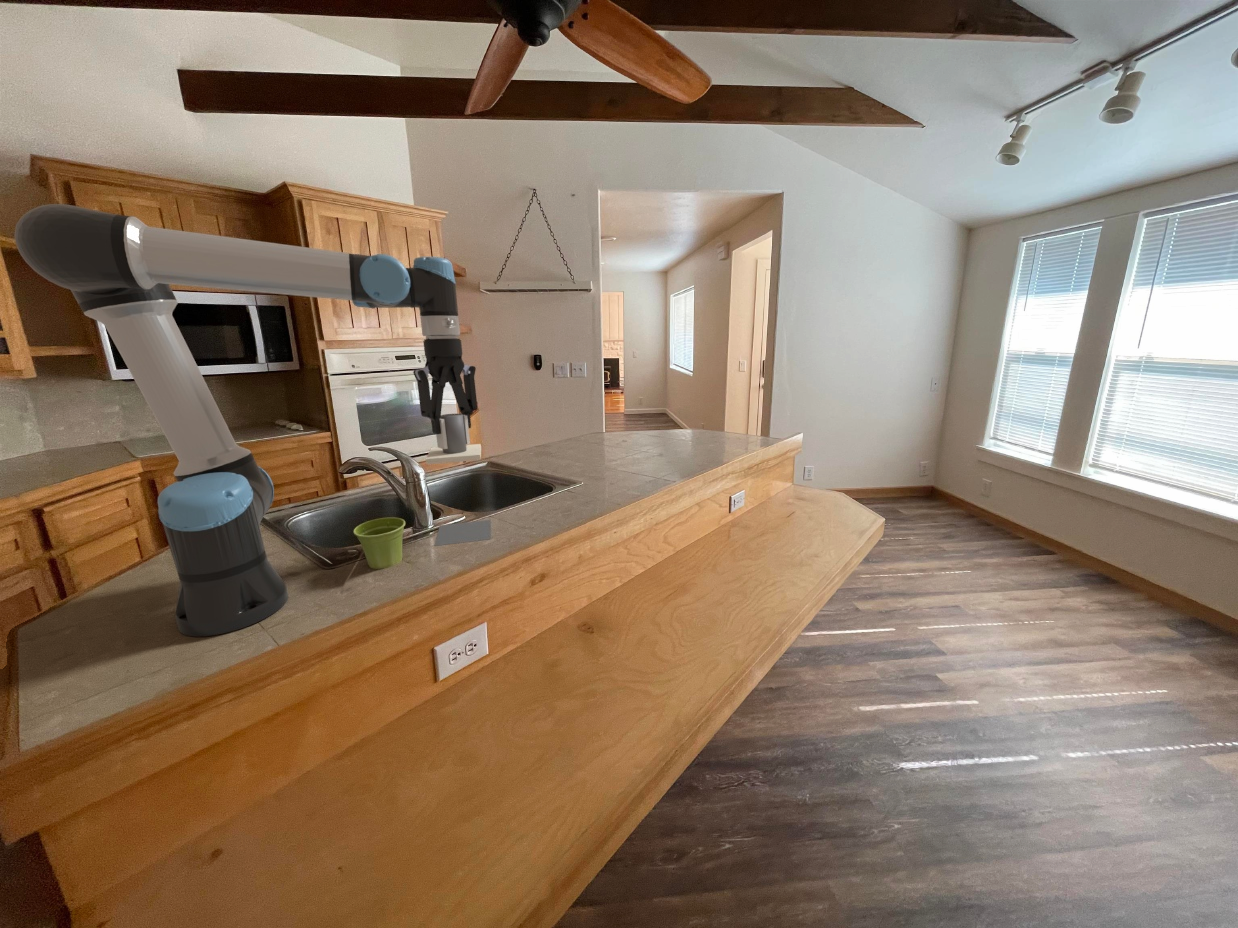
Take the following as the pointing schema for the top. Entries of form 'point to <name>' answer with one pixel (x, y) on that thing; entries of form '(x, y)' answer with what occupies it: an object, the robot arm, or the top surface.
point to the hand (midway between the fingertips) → (454, 445)
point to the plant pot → (381, 541)
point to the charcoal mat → (463, 532)
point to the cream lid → (454, 444)
